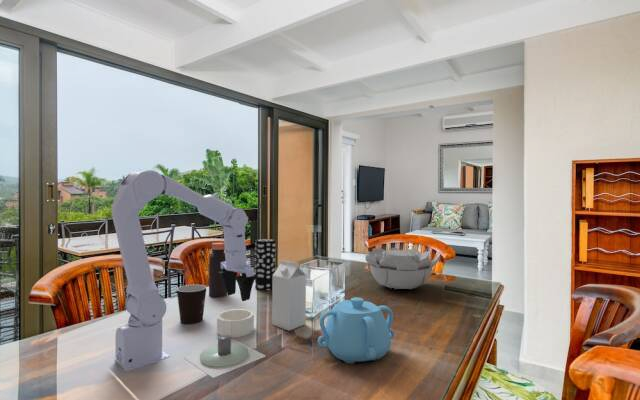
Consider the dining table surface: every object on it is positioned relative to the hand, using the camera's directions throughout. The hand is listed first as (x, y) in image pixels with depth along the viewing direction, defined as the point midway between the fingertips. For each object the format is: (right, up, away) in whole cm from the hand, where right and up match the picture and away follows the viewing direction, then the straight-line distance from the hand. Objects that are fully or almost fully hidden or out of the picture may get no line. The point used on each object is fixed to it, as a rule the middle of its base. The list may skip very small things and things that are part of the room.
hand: (238, 297), depth 100 cm
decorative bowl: (+56, -10, +49) cm, 75 cm away
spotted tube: (0, -9, +46) cm, 47 cm away
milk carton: (+14, -10, +5) cm, 18 cm away
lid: (+1, -9, -17) cm, 19 cm away
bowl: (-1, -10, -1) cm, 10 cm away
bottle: (-16, -9, +36) cm, 40 cm away
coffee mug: (-16, -10, +10) cm, 21 cm away
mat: (+1, -10, -17) cm, 19 cm away
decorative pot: (+32, -10, -14) cm, 36 cm away
